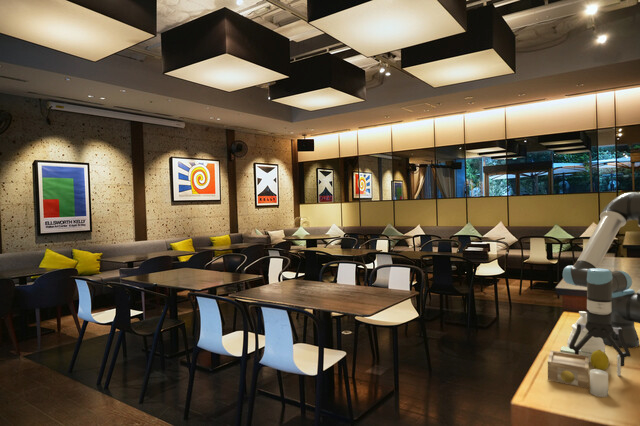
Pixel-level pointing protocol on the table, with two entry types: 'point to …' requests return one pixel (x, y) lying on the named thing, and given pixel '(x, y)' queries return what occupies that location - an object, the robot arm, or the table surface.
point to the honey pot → (592, 343)
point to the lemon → (599, 360)
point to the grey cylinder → (598, 383)
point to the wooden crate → (568, 368)
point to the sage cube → (567, 350)
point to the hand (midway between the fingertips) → (598, 371)
